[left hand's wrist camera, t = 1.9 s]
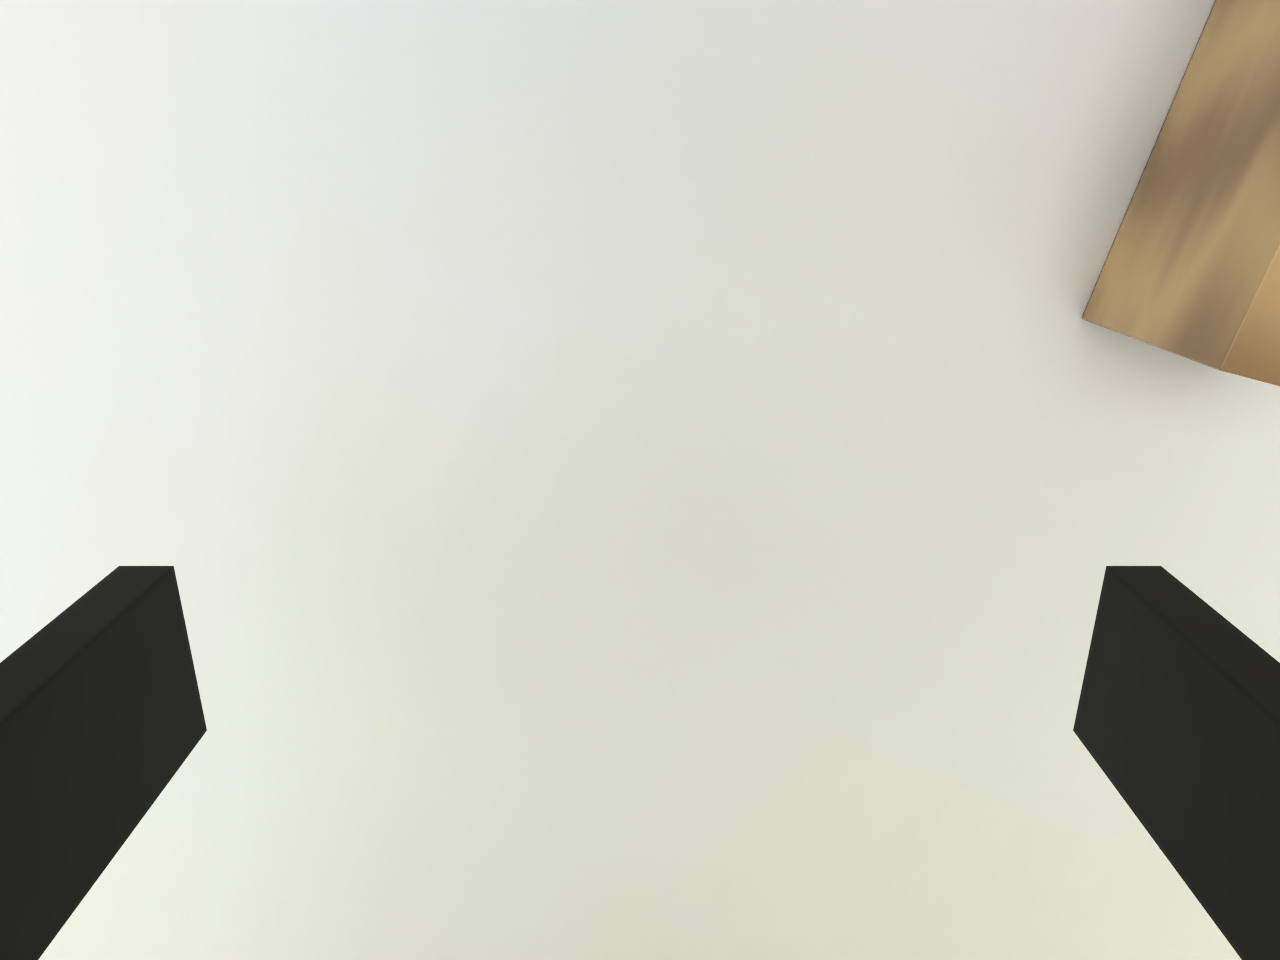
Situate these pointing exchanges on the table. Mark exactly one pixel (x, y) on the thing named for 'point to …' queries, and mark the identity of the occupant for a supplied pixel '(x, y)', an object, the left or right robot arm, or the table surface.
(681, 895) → the table surface
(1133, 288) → the beam
